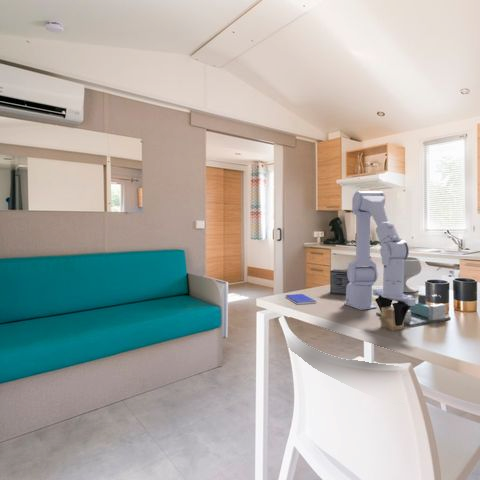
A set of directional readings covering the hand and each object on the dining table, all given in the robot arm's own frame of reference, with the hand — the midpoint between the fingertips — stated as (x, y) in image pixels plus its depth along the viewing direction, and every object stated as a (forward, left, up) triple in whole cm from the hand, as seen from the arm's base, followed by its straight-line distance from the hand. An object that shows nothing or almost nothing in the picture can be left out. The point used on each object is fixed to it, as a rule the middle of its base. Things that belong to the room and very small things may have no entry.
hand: (392, 322), depth 102 cm
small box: (-42, +16, -2) cm, 45 cm away
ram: (-5, +18, 0) cm, 19 cm away
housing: (0, 0, -1) cm, 1 cm away
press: (-5, +15, -1) cm, 16 cm away
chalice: (-36, +46, -2) cm, 58 cm away
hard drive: (-40, -8, -2) cm, 41 cm away
